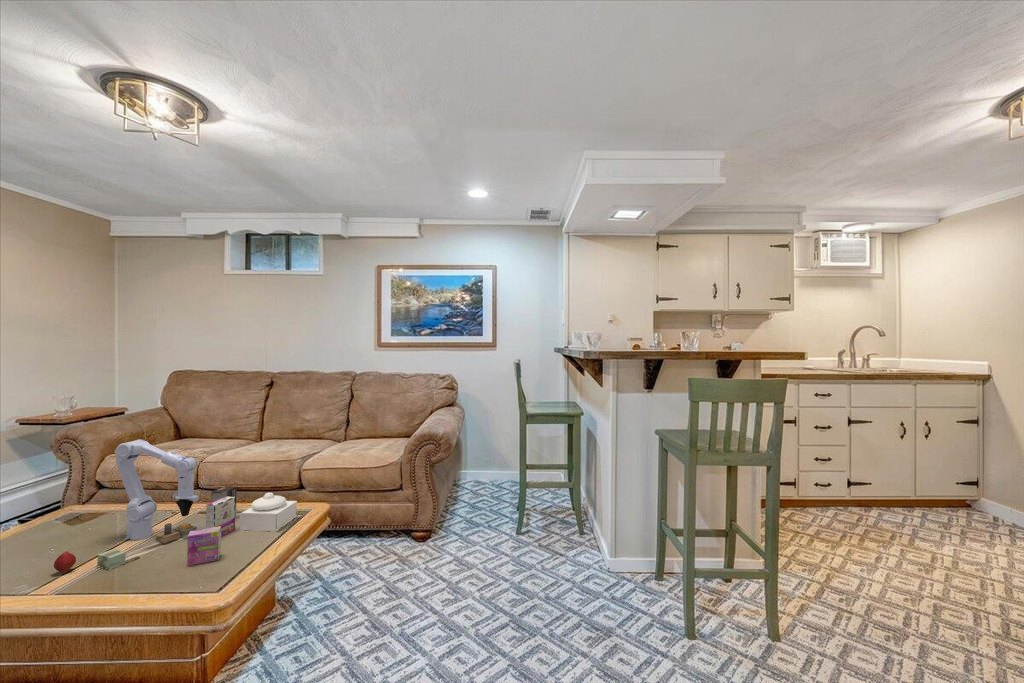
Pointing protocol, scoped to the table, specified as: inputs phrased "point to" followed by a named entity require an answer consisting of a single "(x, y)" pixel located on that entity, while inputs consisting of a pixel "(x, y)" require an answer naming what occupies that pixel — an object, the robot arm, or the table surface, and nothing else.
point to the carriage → (167, 534)
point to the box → (203, 545)
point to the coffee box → (224, 494)
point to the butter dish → (268, 513)
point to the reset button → (184, 526)
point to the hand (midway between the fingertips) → (185, 515)
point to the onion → (64, 562)
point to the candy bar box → (221, 515)
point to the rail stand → (136, 551)
